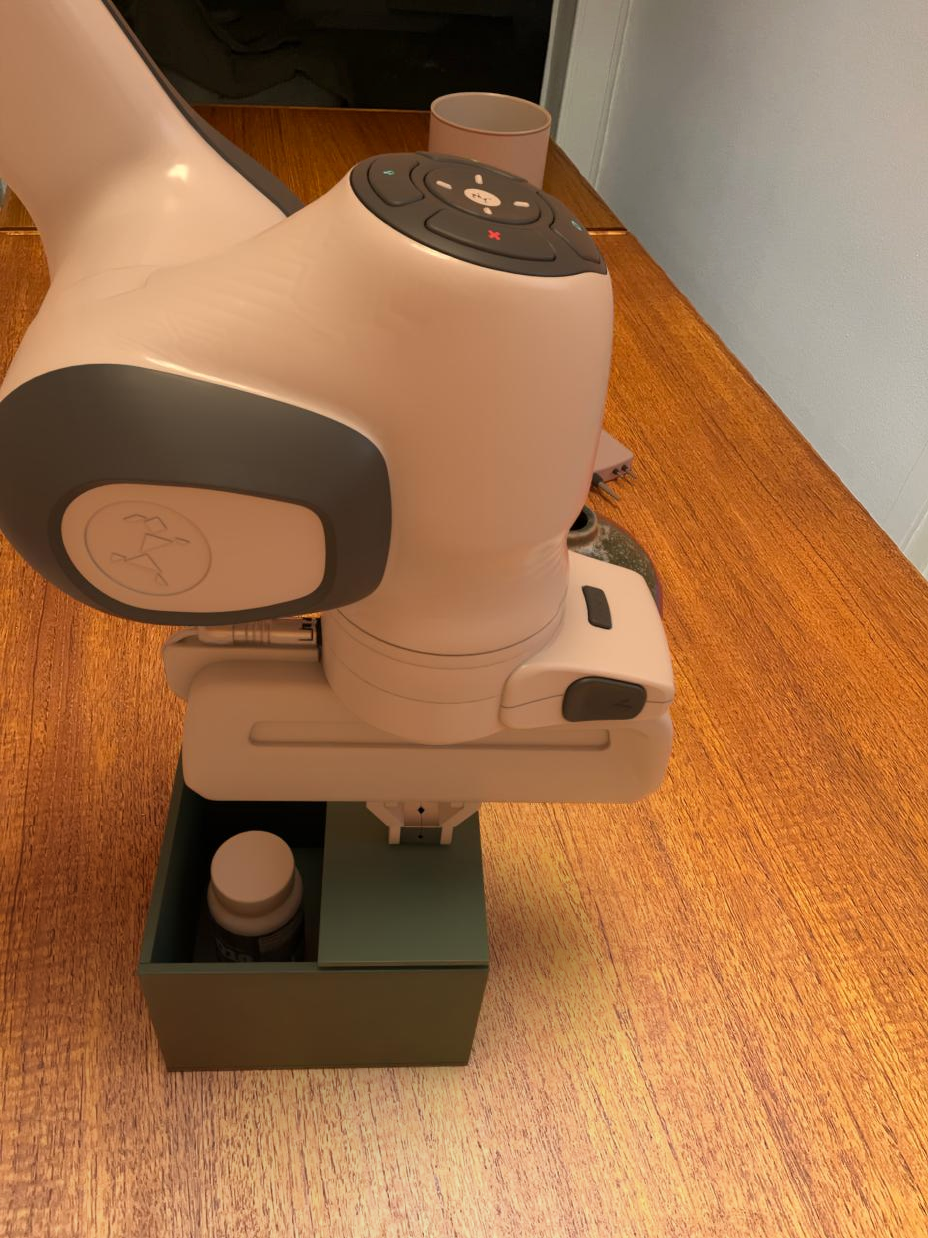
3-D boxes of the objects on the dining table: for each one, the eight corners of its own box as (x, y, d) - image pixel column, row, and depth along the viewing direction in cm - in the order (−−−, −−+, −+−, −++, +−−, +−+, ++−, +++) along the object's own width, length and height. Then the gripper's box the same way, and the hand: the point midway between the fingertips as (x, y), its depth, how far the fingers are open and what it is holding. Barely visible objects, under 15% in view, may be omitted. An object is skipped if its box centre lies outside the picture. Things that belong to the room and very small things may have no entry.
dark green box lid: (471, 732, 51) (472, 727, 51) (489, 965, 42) (490, 961, 42) (331, 730, 51) (331, 725, 50) (317, 967, 41) (317, 962, 41)
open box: (456, 845, 59) (472, 736, 52) (468, 1066, 50) (489, 970, 42) (203, 845, 57) (183, 732, 50) (167, 1072, 48) (135, 974, 41)
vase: (509, 777, 63) (538, 632, 54) (393, 628, 72) (400, 481, 62) (686, 693, 70) (738, 551, 60) (559, 566, 78) (588, 425, 69)
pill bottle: (199, 943, 52) (182, 859, 47) (271, 892, 55) (264, 806, 49) (250, 1008, 50) (238, 928, 44) (323, 952, 53) (321, 869, 47)
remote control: (555, 406, 96) (559, 379, 94) (660, 492, 87) (668, 465, 85) (500, 423, 93) (503, 395, 91) (604, 513, 84) (610, 485, 82)
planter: (404, 254, 118) (411, 94, 105) (499, 243, 122) (517, 89, 110) (448, 303, 110) (462, 135, 97) (548, 289, 114) (573, 128, 102)
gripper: (139, 681, 33) (184, 892, 43) (719, 693, 35) (638, 891, 45) (169, 560, 38) (204, 775, 47) (682, 576, 40) (615, 779, 49)
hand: (419, 832), depth 46 cm, fingers closed, pressing on dark green box lid
